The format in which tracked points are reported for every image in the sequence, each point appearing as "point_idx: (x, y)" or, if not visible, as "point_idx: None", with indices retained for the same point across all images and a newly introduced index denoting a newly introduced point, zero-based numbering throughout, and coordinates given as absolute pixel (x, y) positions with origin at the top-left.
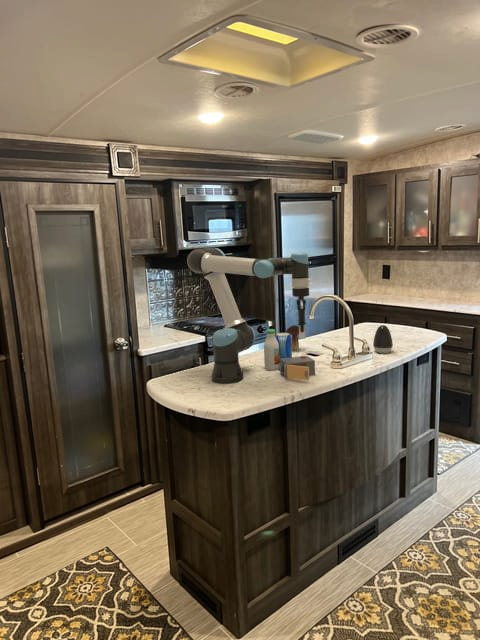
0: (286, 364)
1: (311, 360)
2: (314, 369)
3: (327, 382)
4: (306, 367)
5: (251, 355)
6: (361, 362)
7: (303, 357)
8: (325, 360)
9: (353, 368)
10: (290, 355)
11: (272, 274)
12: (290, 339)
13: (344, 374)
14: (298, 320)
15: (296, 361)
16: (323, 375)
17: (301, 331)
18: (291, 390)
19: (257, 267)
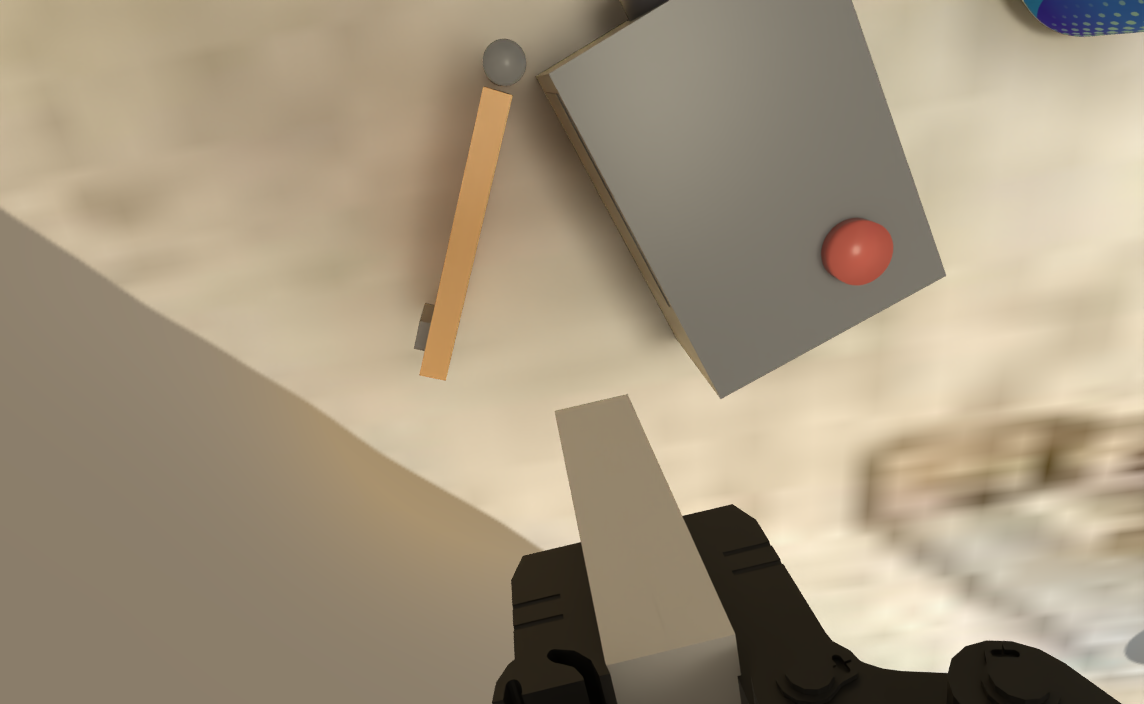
0: (498, 79)
1: (724, 363)
2: (689, 354)
3: (466, 470)
4: (424, 356)
5: None
6: (1014, 628)
7: (825, 258)
8: (1130, 362)
9: (859, 597)
10: (1122, 18)
11: None
12: None
13: None
14: (1012, 699)
15: (674, 190)
16: (662, 411)
17: (520, 592)
18: (147, 197)
19: None
